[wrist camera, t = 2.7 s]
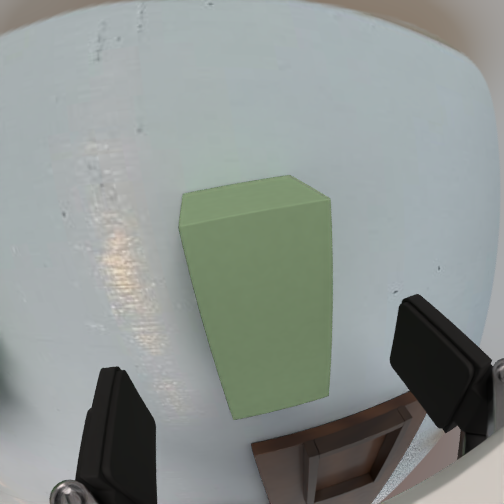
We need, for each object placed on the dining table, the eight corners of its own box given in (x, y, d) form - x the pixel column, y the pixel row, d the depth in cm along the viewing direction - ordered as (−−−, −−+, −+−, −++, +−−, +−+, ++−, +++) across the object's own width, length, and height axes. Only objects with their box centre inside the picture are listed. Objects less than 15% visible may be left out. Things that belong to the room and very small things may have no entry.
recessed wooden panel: (431, 378, 21) (448, 398, 19) (365, 503, 37) (370, 513, 35) (250, 441, 19) (257, 471, 17) (280, 529, 36) (283, 541, 33)
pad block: (290, 174, 12) (330, 198, 9) (302, 342, 16) (328, 396, 12) (182, 193, 12) (178, 226, 8) (222, 361, 16) (233, 420, 12)
